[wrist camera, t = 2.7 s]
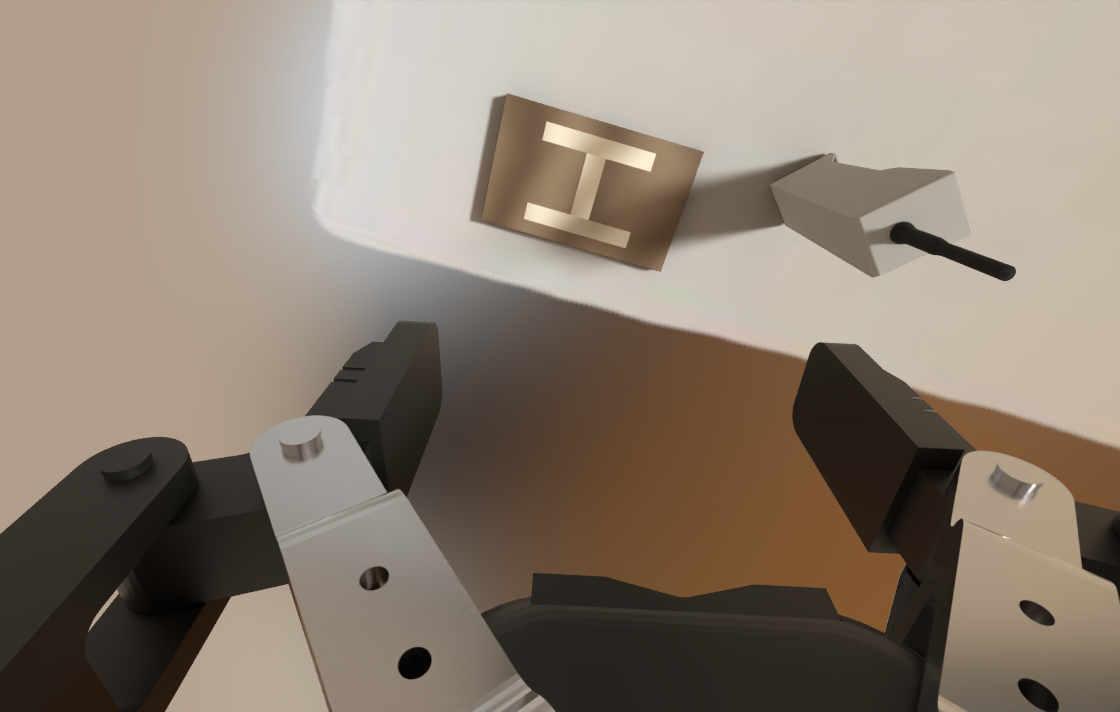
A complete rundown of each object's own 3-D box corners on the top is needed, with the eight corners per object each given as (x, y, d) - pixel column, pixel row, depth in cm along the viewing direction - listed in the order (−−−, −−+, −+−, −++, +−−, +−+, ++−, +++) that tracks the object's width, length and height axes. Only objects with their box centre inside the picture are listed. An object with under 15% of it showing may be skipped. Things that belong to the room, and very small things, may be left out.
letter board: (484, 217, 46) (481, 219, 45) (509, 94, 42) (506, 93, 41) (659, 268, 46) (660, 271, 45) (701, 151, 42) (703, 151, 41)
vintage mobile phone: (844, 195, 43) (1110, 279, 20) (784, 225, 44) (968, 336, 21) (829, 152, 41) (1093, 189, 19) (768, 184, 43) (943, 255, 20)
